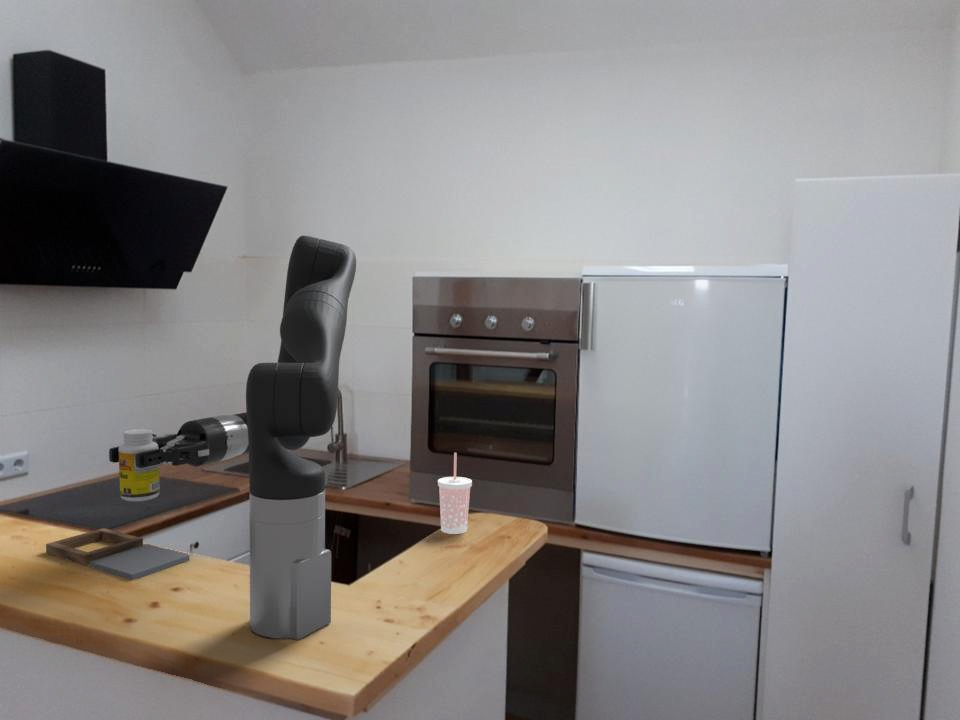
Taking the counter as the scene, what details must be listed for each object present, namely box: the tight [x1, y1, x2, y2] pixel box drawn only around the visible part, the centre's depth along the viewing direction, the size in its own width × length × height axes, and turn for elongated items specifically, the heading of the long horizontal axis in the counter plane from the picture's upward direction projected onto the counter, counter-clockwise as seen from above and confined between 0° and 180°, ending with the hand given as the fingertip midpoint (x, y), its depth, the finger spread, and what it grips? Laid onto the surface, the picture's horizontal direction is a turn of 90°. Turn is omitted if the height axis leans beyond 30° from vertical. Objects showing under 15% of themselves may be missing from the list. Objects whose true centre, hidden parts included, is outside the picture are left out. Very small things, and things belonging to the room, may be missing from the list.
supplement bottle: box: [118, 428, 161, 502], centre depth 119 cm, size 6×6×10 cm
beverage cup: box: [437, 452, 473, 535], centre depth 140 cm, size 6×6×14 cm
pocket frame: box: [45, 527, 144, 566], centre depth 126 cm, size 10×10×2 cm
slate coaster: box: [89, 543, 190, 581], centre depth 120 cm, size 10×10×1 cm
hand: (124, 458), depth 117 cm, fingers closed on supplement bottle, 5 cm apart
